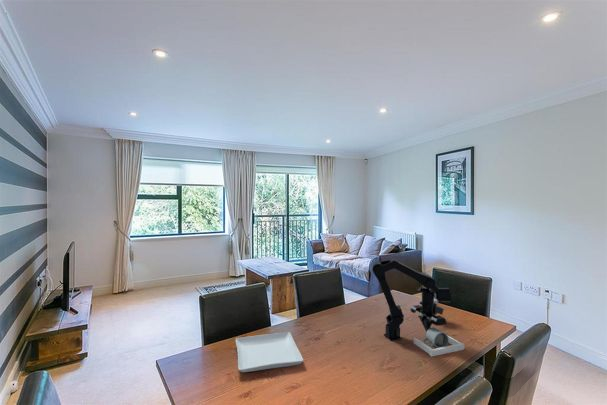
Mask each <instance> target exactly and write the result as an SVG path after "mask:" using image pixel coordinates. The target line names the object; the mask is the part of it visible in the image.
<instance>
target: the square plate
mask: <svg viewBox="0 0 607 405" xmlns="http://www.w3.org/2000/svg"><path fill="white" fill-rule="evenodd" d="M235 345H236V350H237V352H236V353H237V367H238V368H237V369H238V370H239V372H241V373H248V372H256V371H257V372H258V371H264V370H268V369H269V370H270V369H276V368H286V367H291V366H292V367H293V366H298V365H301V364H302V363H303V362H304V358H303V356H302V354H301V351H300V350H299V349H298V346H297V344H296V342H295V339H294V338H293V336H292V334H291V332H289V331H286V332H276V333H275V332H274V333H266V334H257V335H251V336H244V337H237V338H235Z"/></svg>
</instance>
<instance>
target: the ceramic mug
mask: <svg viewBox="0 0 607 405" xmlns="http://www.w3.org/2000/svg"><path fill="white" fill-rule="evenodd" d="M425 333H426V334H425V336H426V337H424V338H423V339H422V341H421V342H423V343H424V344H426V345H427V346H429V347H430V348H432V347H434V348H435V347H436V348H441V347H445V346H449V339H448V336H449V335H448V336H447V334H446V333H445V332H444V331H442V330H440V329H439V328H436V327H434V326H433V327H432V326H431V327H430V328H429V329H428V330H427V332H426V331H425ZM427 341H428V342H429V343H426V342H427Z"/></svg>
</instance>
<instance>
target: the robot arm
mask: <svg viewBox="0 0 607 405" xmlns="http://www.w3.org/2000/svg"><path fill="white" fill-rule="evenodd" d="M394 269H395V270H397V271H399V272H401V273H402V274H404V275H406V276H408V277H410V278H412V279H414V280H416V281H417V282H418V283H419V284H420V285H422V286H420V287H418V288H417V291H418V292H419V293H421V297H422V302H421V301H419V304H417V305H412V306H411V307H410V312H411V313H413V314H416V313H417V312H418V313H419V314H418V315H417V317H418V318H419V320H420V322H421V324H422V325H423V328H424V330H425V333H426V332H427V330H428V329H429V328H432V325H435V326H442V325H447V319H446V318H445V317H444V316H443V313H444V310H445V309H444V308H443V307H441V306H439V305H438V304H437V305H436V304H435V303H434V298H435V299H437V301H438V303H440V302H441V303H451V302H452V294H451V291H450V288H449V287H438V285H436V280H435V278H433V277H432V276H431V275H430V274H428V273H424V272H420V271H418V270H415V269H413V268H412V267H410V266H407V265H406V264H404V263H402V262H400V261H398V260H397V259H394V258H392V259H389V260H387V259H386V260H381V261H378V260H376V261H373V262H372V264H371V270H372V272H373V274H374V276H375V278H376V279H377V281H378V282H379V284H380V287H381V290H382V293H383V295H384V298H385V300H386V302H387V305H388V311H389V314H388V315H387V316H386V317H385V320H386V322H387V323H386V324H385V333H383V336H384V337H385V338H386V339H388V340H389V341H391V342H392V341H397V340H401V339H402V336H401V327H400V326H401V325H402V324H403V323H404V318H405V314H404V313H403V311H402V308H401V305H400V304H398V305H397V304H396V301H395V300H394V296H393V294H392V292H391V289H390V286H389V284H388V281H387V277H386V273H387V272H389V271H392V270H394ZM433 314H436V316H435V315H433ZM438 314H439V315H438Z"/></svg>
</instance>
